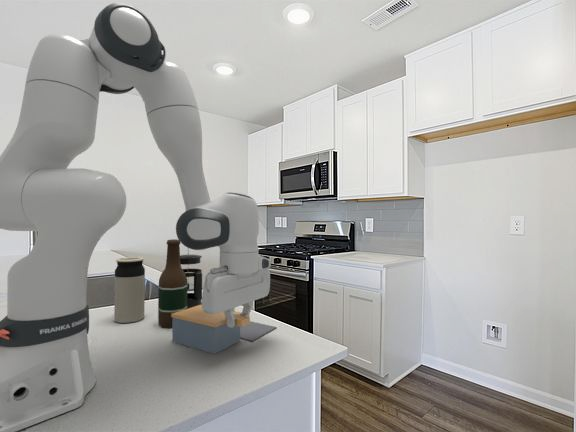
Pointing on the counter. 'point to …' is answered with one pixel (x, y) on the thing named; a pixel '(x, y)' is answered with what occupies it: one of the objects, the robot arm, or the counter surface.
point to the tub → (204, 335)
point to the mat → (254, 331)
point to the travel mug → (129, 290)
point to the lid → (208, 317)
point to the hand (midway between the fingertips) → (238, 323)
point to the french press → (195, 297)
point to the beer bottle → (171, 286)
